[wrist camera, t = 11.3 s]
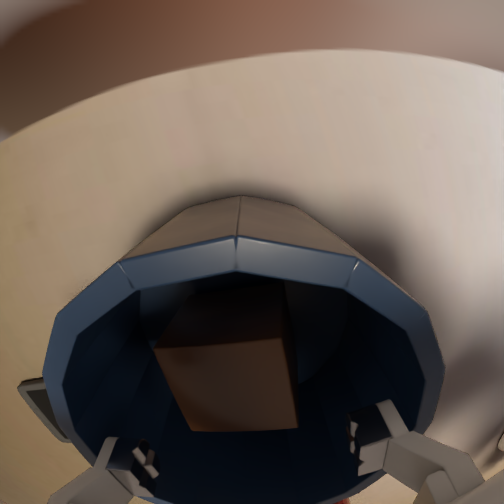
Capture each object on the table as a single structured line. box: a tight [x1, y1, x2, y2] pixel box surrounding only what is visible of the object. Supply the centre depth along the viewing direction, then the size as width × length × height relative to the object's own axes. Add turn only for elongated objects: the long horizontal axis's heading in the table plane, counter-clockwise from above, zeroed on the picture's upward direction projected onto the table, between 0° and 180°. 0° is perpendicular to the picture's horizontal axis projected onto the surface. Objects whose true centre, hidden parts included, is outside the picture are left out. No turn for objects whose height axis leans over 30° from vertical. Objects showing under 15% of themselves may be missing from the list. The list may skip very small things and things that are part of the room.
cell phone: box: [17, 379, 72, 443], centre depth 19 cm, size 7×14×1 cm, turn 110°
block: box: [153, 282, 299, 432], centre depth 13 cm, size 5×5×5 cm
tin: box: [42, 196, 445, 504], centre depth 13 cm, size 14×14×10 cm
